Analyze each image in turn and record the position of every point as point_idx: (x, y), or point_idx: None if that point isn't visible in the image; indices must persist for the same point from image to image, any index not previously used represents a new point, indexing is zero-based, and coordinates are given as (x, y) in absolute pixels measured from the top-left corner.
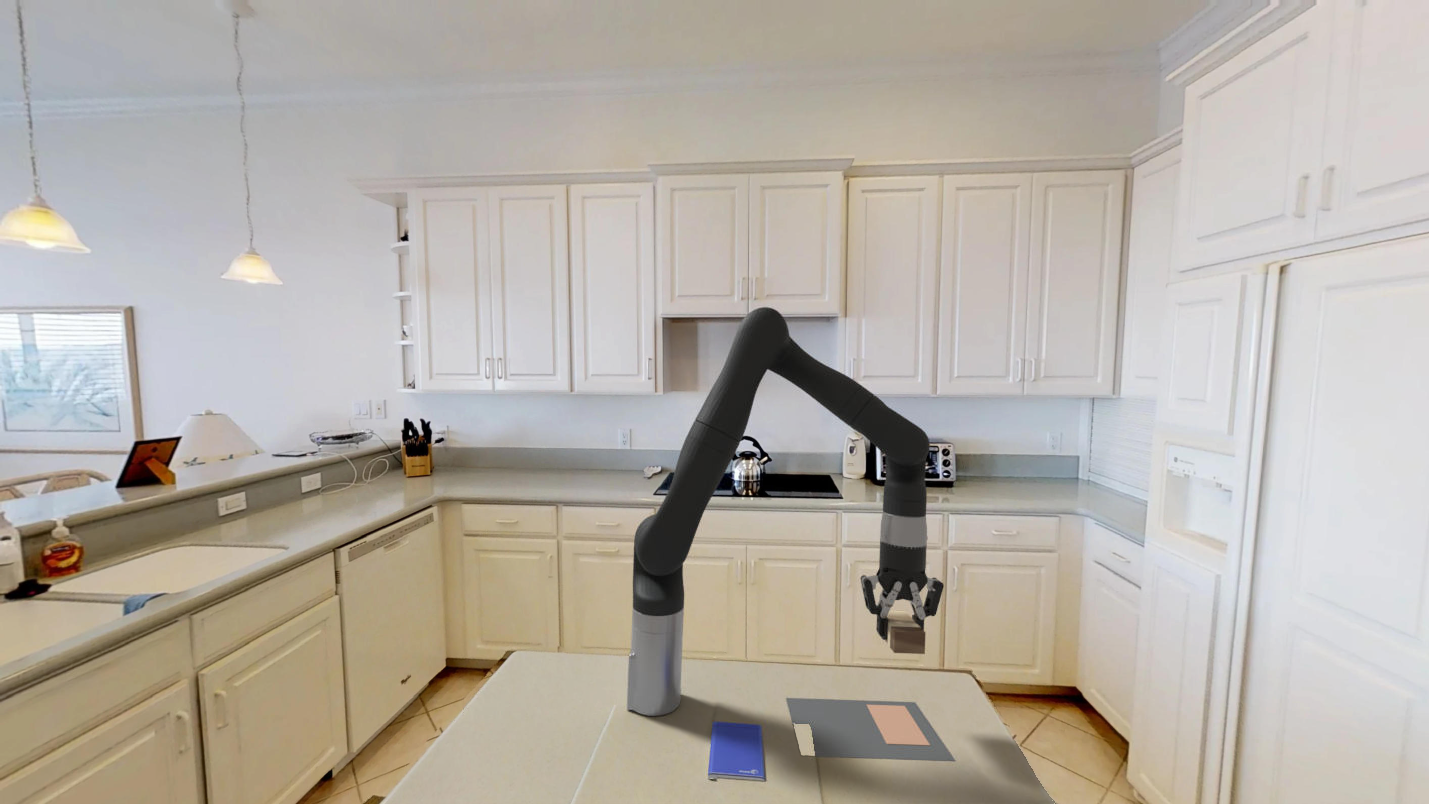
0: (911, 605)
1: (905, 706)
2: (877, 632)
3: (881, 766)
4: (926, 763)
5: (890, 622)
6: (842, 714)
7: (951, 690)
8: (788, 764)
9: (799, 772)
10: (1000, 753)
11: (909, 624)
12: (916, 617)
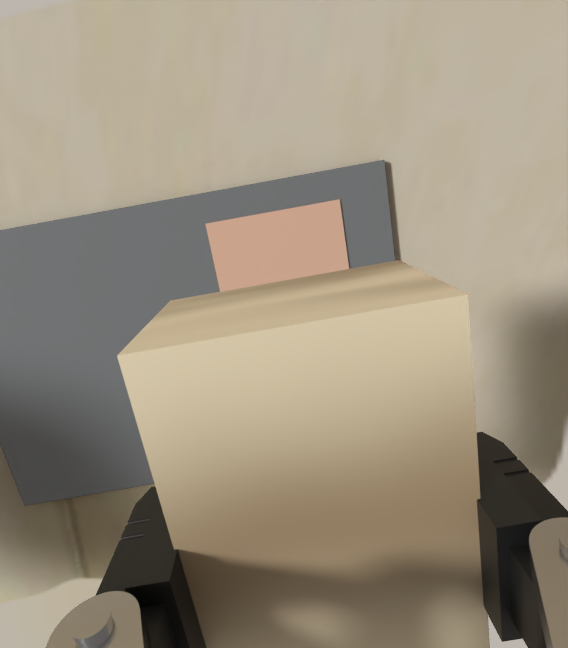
0: (548, 646)
1: (341, 199)
2: (151, 491)
3: None
4: None
5: (229, 636)
6: (123, 301)
7: (561, 7)
8: (3, 525)
9: (33, 543)
10: (551, 368)
11: (404, 637)
12: (516, 608)
